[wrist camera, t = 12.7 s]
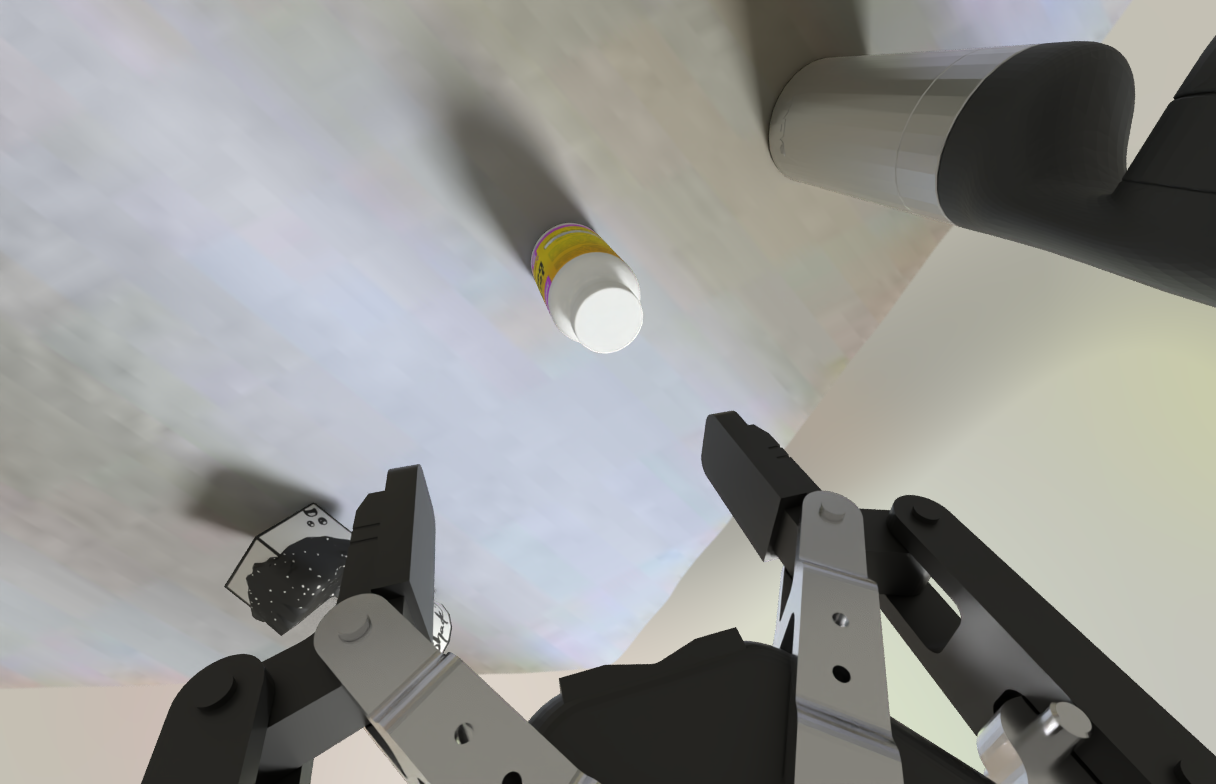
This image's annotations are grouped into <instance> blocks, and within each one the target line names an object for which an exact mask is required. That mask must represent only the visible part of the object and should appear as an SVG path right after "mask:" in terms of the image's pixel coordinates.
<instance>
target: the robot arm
mask: <svg viewBox="0 0 1216 784" xmlns="http://www.w3.org/2000/svg"><path fill="white" fill-rule="evenodd" d="M1173 98H1174V100H1173V101H1172V102H1170V104H1169V105H1168V106H1167V108H1166V110H1165V111H1164V113H1163V114H1162V116H1161V117H1160V119H1159V121H1158V122H1157V124H1156V125H1155V127H1154V129H1153V130H1152V132H1151V133H1150V135H1149V137H1148V138H1147V140H1146V141H1145V143H1144V145H1143V146H1142V148H1141V149H1140V151H1139V152H1138V154H1137V156H1136V157H1135V159H1134V161H1133V162H1132V164H1131V165H1130V167H1129V168H1128V170H1127V168H1126V155H1127V146H1128V140H1129V134H1130V129H1131V123H1132V118H1133V112H1134V104H1135V86H1134V79H1133V74H1132V71H1131V68H1130V66H1129V64H1128V62H1127V60H1126V59H1125V57H1124V56H1123V55H1122V54H1121V53H1120V52H1119V51H1117V50H1116V49H1115V48H1113V47H1111V46H1108V45H1105V44H1102V43H1098V42H1089V41H1072V42H1057V43H1045V44H1030V45H1015V46H999V47H989V48H974V49H958V50H943V51H927V52H912V53H896V54H881V55H861V56H846V57H831V58H824V59H820V60H816V61H814V62H812V63H810V64H808V65H807V66H805V67H804V68H802V69H801V70H800V71H799V72H798V73H796V74H795V75H794V76H793V78H792V79H791V80H790V81H789V82H788V84H787V85H786V86H785V88H784V89H783V91H782V93H781V94H780V96H779V98H778V100H777V103H776V105H775V108H774V110H773V113H772V118H771V122H770V129H769V145H770V152H771V155H772V158H773V161H774V163H775V164H776V166H777V168H778V169H779V170H780V171H781V172H782V173H783V174H784V175H785V176H786V177H788V178H790V179H792V180H794V181H798V182H802V183H805V184H809V185H812V186H816V187H819V188H822V189H826V190H829V191H833V192H836V193H840V194H843V195H847V196H851V197H854V198H858V199H861V200H865V201H868V202H872V203H875V204H879V205H883V206H886V207H890V208H893V209H897V210H900V211H904V212H908V213H911V214H915V215H918V216H922V217H926V218H930V219H933V220H937V221H941V222H944V223H948V224H951V225H955V226H958V227H962V228H966V229H969V230H973V231H977V232H981V233H985V234H989V235H993V236H996V237H1000V238H1004V239H1007V240H1011V241H1015V242H1018V243H1021V244H1025V245H1028V246H1032V247H1035V248H1039V249H1042V250H1046V251H1049V252H1052V253H1055V254H1058V255H1061V256H1064V257H1067V258H1070V259H1073V260H1076V261H1079V262H1082V263H1085V264H1088V265H1091V266H1093V267H1096V268H1099V269H1102V270H1105V271H1108V272H1110V273H1114V274H1116V275H1119V276H1122V277H1125V278H1128V279H1131V280H1133V281H1136V282H1139V283H1142V284H1145V285H1147V286H1150V287H1153V288H1156V289H1159V290H1161V291H1165V292H1168V293H1171V294H1174V295H1177V296H1180V297H1184V298H1187V299H1190V300H1193V301H1196V302H1200V303H1203V304H1206V305H1209V306H1212V307H1216V36H1215V37H1214V38H1213V40H1212V41H1211V42H1210V44H1209V45H1208V46H1207V48H1206V49H1205V50H1204V52H1203V53H1202V54H1201V56H1200V58H1199V59H1198V61H1197V62H1196V64H1195V65H1194V67H1193V68H1192V70H1191V71H1190V73H1189V75H1188V76H1187V77H1186V79H1185V80H1184V82H1183V84H1182V85H1181V87H1180V88H1179V90H1178V91H1177V93H1176V94H1175V96H1174V97H1173ZM701 460H702V466H703V469H704V472H705V474H706V476H707V478H708V479H709V481H710V482H711V484H712V485H713V487H714V488H715V490H716V491H717V493H718V494H719V496H720V497H721V499H722V500H723V502H724V503H725V505H726V506H727V508H728V509H729V511H730V512H731V514H732V515H733V517H734V518H735V520H736V521H737V523H738V524H739V526H740V527H741V529H742V530H743V532H744V533H745V535H746V536H747V538H748V539H749V541H750V542H751V544H752V545H753V547H754V548H755V550H756V552H757V553H758V555H759V556H760V558H761V559H762V561H763V562H767V561H771V560H775V559H780V560H781V562H782V563H783V568H782V572H781V581H780V592H779V601H778V611H777V620H776V630H775V636H774V642H773V646H771V645H767V644H763V643H759V642H752V641H743V640H742V638H741V636H740V634H739V632H738V630H737V629H736V627H735V628H731V629H728V630H725V631H721V632H718V633H714V634H711V635H707V636H704V637H700V638H697V639H694V640H693V641H691V642H690V643H688V644H687V645H685V646H683V647H682V648H680V649H679V650H677V651H676V652H674V653H673V654H671V655H669V656H668V657H666V658H665V659H663V660H662V661H660V662H658V663H655V664H636V665H635V664H633V665H603V666H600V667H596V668H593V669H590V670H586V671H583V672H579V673H576V674H572V675H569V676H565V677H562V678H559V684H560V694H559V695H557V696H556V697H554V698H552V699H551V700H550V701H548V702H547V703H546V704H545V705H543V706H542V707H541V708H540V709H539V710H538V711H537V712H536V713H535V714H534V715H533V716H532V717H531V719H530V720H529V721H528V722H527V721H526V720H525V719H524V718H523V717H522V716H521V715H520V714H519V713H518V712H517V711H516V710H515V709H514V708H512V707H511V706H510V705H509V704H508V703H507V702H506V701H505V700H504V699H503V698H502V697H501V696H500V695H499V694H498V693H496V692H495V691H494V690H493V689H492V688H491V687H490V686H489V685H488V684H487V683H486V682H485V681H484V680H483V679H482V678H481V677H479V676H478V675H477V674H476V673H475V672H474V671H473V670H472V669H471V668H470V667H469V666H468V665H467V664H466V663H465V662H463V661H462V660H461V659H460V658H459V657H458V656H456V655H455V654H453V653H451V652H448V653H447V654H446V655H445V654H443V653H442V652H440V651H439V650H438V649H437V648H436V647H435V646H434V645H433V614H434V570H435V518H434V511H433V506H432V503H431V499H430V495H429V492H428V488H427V485H426V481H425V477H424V474H423V470H422V467H421V465H420V464H417V465H411V466H406V467H400V468H394V469H389V470H388V474H387V480H386V487H385V491H381V492H375V493H370V494H368V495H367V497H366V498H365V499H364V501H363V502H362V503H361V505H360V506H359V508H358V509H357V510H356V515H355V519H354V524H353V531H352V534H351V539H350V546H349V548H348V553H347V558H346V563H345V567H344V572H343V577H342V582H341V586H340V591H339V596H338V600H337V604H336V606H334V607H333V608H332V609H331V610H330V611H329V612H328V613H327V614H326V615H325V616H324V617H323V619H322V620H321V621H320V623H319V625H318V627H317V629H316V631H315V633H313V634H312V635H311V636H309V637H308V638H306V639H305V640H303V641H302V642H300V643H298V644H296V645H294V646H292V647H290V648H288V649H286V650H284V651H283V652H281V653H279V654H277V655H275V656H273V657H271V658H269V659H267V660H265V661H263V662H261V661H260V660H259V659H258V658H256V657H255V656H252V655H248V654H237V655H232V656H228V657H225V658H223V659H220V660H218V661H216V662H214V663H212V664H210V665H209V666H207V667H205V668H204V669H203V670H201V671H200V672H198V673H197V674H196V675H195V676H194V677H193V678H191V679H190V680H189V681H188V682H187V683H186V684H185V685H184V686H183V688H182V689H181V690H180V692H179V693H178V694H177V696H176V697H175V699H174V700H173V702H172V705H171V707H170V709H169V711H168V714H167V717H166V719H165V722H164V725H163V727H162V730H161V733H160V735H159V738H158V740H157V743H156V746H155V748H154V751H153V754H152V757H151V759H150V762H149V764H148V767H147V769H146V772H145V775H144V778H143V780H142V783H141V784H310V782H311V773H312V767H313V760H314V758H315V757H317V756H318V755H320V754H321V753H323V752H325V751H326V750H328V749H329V748H331V747H332V746H334V745H335V744H337V743H339V742H341V741H342V740H344V739H345V738H347V737H348V736H350V735H352V734H354V733H355V732H356V731H358V730H360V729H361V728H364V730H365V731H366V732H367V733H368V735H369V736H370V737H371V738H372V739H373V741H374V742H375V743H376V745H377V746H378V747H379V748H380V750H381V751H382V752H383V753H384V755H385V756H386V757H387V758H388V759H389V761H390V762H391V763H392V764H393V766H394V767H395V768H396V770H397V771H398V772H399V773H400V775H401V776H402V777H403V778H404V780H405V781H406V782H407V783H408V784H1216V756H1215V755H1214V754H1213V753H1212V752H1211V751H1209V750H1208V749H1207V748H1206V747H1205V746H1204V745H1203V744H1202V743H1201V742H1200V741H1199V740H1197V739H1196V738H1195V737H1194V736H1193V735H1192V734H1191V733H1190V732H1189V731H1188V730H1187V729H1185V728H1184V727H1183V726H1182V725H1181V724H1180V723H1179V722H1178V721H1177V720H1176V719H1175V718H1173V717H1172V716H1171V715H1170V714H1169V713H1168V712H1167V711H1166V710H1165V709H1164V708H1163V707H1162V706H1160V705H1159V704H1158V703H1157V702H1156V701H1155V700H1154V699H1153V698H1152V697H1151V696H1150V695H1148V694H1147V693H1146V692H1145V691H1144V690H1143V689H1142V688H1141V687H1140V686H1139V685H1138V684H1137V683H1135V682H1134V681H1133V680H1132V679H1131V678H1130V677H1129V676H1128V675H1127V674H1126V673H1124V672H1123V671H1122V670H1121V669H1120V668H1119V667H1118V666H1117V665H1116V664H1115V663H1114V662H1113V661H1111V660H1110V659H1109V658H1108V657H1107V656H1106V655H1105V654H1104V653H1102V651H1101V650H1100V649H1098V648H1097V647H1096V646H1095V645H1094V644H1093V643H1092V642H1091V641H1090V640H1089V639H1088V638H1086V637H1085V636H1084V635H1083V634H1082V633H1081V632H1080V631H1079V630H1078V629H1077V628H1076V627H1075V626H1073V625H1072V624H1071V623H1070V622H1069V621H1068V620H1067V619H1066V618H1065V617H1064V616H1063V615H1061V614H1060V613H1059V612H1058V611H1057V610H1056V609H1055V608H1054V607H1053V606H1052V605H1051V604H1049V603H1048V602H1047V601H1046V600H1045V599H1044V598H1043V597H1042V596H1041V595H1040V594H1039V593H1038V592H1036V591H1035V590H1034V589H1033V588H1032V587H1031V586H1030V585H1029V584H1028V583H1027V582H1025V581H1024V580H1023V579H1022V578H1021V577H1020V576H1019V575H1018V574H1017V573H1016V572H1015V571H1014V570H1012V569H1011V568H1010V567H1009V566H1008V565H1007V564H1006V563H1005V562H1004V561H1003V560H1002V559H1000V558H999V557H998V556H997V555H996V554H995V553H994V552H993V551H992V550H991V549H990V548H989V547H987V546H986V545H985V544H984V543H983V542H982V541H981V540H980V539H978V537H977V536H975V535H974V534H973V533H972V532H971V531H970V530H969V529H968V528H967V527H966V526H965V525H963V524H962V523H961V522H960V521H959V520H958V519H957V518H956V517H955V516H954V515H953V514H952V513H950V512H949V511H948V510H947V509H946V508H945V507H943V506H941V505H940V504H938V503H936V502H934V501H932V500H930V499H927V498H924V497H920V496H915V495H905V496H901V497H899V498H897V499H896V500H895V501H894V503H893V505H892V508H891V510H875V509H859V508H858V507H857V506H856V505H855V504H854V503H853V502H852V501H851V500H849V499H847V498H846V497H844V496H842V495H840V494H837V493H834V492H830V491H822V490H821V489H820V488H819V487H818V486H817V485H816V484H815V483H814V482H813V481H812V480H811V479H810V477H809V476H808V475H807V474H806V473H805V472H804V471H803V470H802V469H801V468H800V467H799V465H798V464H797V463H796V462H795V461H794V460H793V459H792V458H791V457H789V456H788V454H787V452H786V451H785V450H784V449H783V448H780V445H779V444H778V443H777V442H776V441H775V439H774V438H773V437H772V436H771V435H770V434H769V433H767V432H766V431H764V430H762V429H760V428H759V427H757V426H755V425H754V424H752V425H747V423H746V422H745V421H744V420H743V419H742V418H741V417H740V416H739V414H738V413H737V412H735V411H728V412H722V413H716V414H710V415H709V416H708V417H707V419H706V425H705V432H704V439H703V447H702V454H701ZM930 577H932V578H933V579H934V580H935V581H936V582H937V584H938V585H939V586H940V587H941V588H942V589H943V590H944V591H945V592H946V593H947V595H948V596H949V597H950V598H951V599H952V600H953V601H954V602H955V604H956V605H957V607H958V609H959V611H960V615H961V618H960V617H959V616H958V615H957V614H956V613H955V611H954V610H953V609H952V608H951V607H950V606H949V605H948V604H947V603H946V601H945V600H944V599H943V598H942V597H941V596H940V595H939V593H938V592H937V591H936V590H935V589H934V588H933V587H932V586H931V585H930V583H929V582H928V581H929V579H930ZM880 609H881V610H882V612H883V613H884V614H885V616H886V617H887V618H888V620H889V621H890V622H891V624H892V625H893V626H894V628H895V629H896V630H897V632H898V633H899V634H900V636H901V637H902V638H903V640H904V641H905V642H906V644H907V645H908V646H909V647H910V649H911V650H912V651H913V653H914V654H915V655H916V656H917V658H918V659H919V661H920V662H921V663H922V665H923V666H924V667H925V669H926V670H927V671H928V673H929V674H930V675H931V677H932V678H933V679H934V680H935V682H936V683H937V685H938V686H939V687H940V688H941V690H942V691H943V692H944V694H945V695H946V696H947V698H948V699H949V700H950V702H951V703H952V704H953V706H954V707H955V708H956V710H957V711H958V712H959V714H960V715H961V716H962V718H963V719H964V720H965V722H966V723H967V724H968V726H969V727H970V728H971V730H972V731H973V732H974V734H975V735H976V736H977V749H978V753H979V756H980V758H981V760H982V762H983V764H984V766H985V769H984V775H983V774H981V773H979V772H978V771H976V770H975V769H973V768H972V767H970V766H968V765H967V764H965V763H964V762H962V761H961V760H959V759H957V758H956V757H954V756H953V755H951V754H949V753H948V752H946V751H945V750H943V749H941V748H940V747H938V746H937V745H935V744H934V743H932V742H930V741H929V740H927V739H926V738H924V737H922V736H920V735H919V734H918V733H916V732H914V731H913V730H911V729H910V728H908V727H906V726H905V725H903V724H902V723H900V722H898V721H897V720H895V719H894V718H892V717H891V716H890V714H889V713H890V712H889V702H888V691H887V680H886V669H885V658H884V647H883V636H882V626H881V614H880Z"/></svg>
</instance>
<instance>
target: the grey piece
mask: <svg viewBox="0 0 1216 784" xmlns="http://www.w3.org/2000/svg"><path fill="white" fill-rule="evenodd" d="M351 534H352V532H351V531H349V530H348V529H347V528H346V527H344V526H343V525H342V524H341V523H339V522H338V521H337V520H336V519H334V518H333V517H332V516H331V515H329V514H328V513H327V512H326V511H324V510H323V509H322V508H321V507H319V506H318V505H317V504H316V503H312V504H310V505H308V506H307V507H305V508H303V509H302V510H300V511H298V512H296V513H295V514H293V515H291V516H290V517H288V518H286V519H285V520H283V521H281V522H280V523H278V524H276V525H274V526H273V527H271V528H269V529H268V530H266V531H264V532H263V533H261V534H259V535H258V536H256V537H255V538H254V540H253V541H252V543H251V544H250V546H249V548H248V549H247V551H246V552H245V554H244V556H243V557H242V559H241V560H240V562H239V564H238V565H237V567H236V568H235V570H234V572H233V573H232V575H231V576H230V578H229V580H228V581H227V583H226V584H225V586H224V587H225V588H227V589H228V590H229V591H230V592H232V593H233V594H234V595H235V596H237V597H238V598H239V599H240V600H242V601H243V602H244V603H246V604H247V605H248V606H249V607H251V611H252V616H253V617H254V618H255V619H257V620H259V621H262V622H266V623H267V624H268V625H269V626H270V627H271V628H273V629H274V630H275V631H276V632H277V633H278V634H280V635H281V636H282V635H283V634H285V633H286V632H287V631H289V630H290V629H292V628H293V627H294V626H296V625H297V624H299V623H300V622H301V621H302V620H304V619H305V618H306V617H307V616H308V615H310V614H311V613H312V612H313V611H314V610H315V609H317V608H318V607H319V606H320V605H322V604H323V603H324V602H326V601H327V600H328V599H329V598H331V597H334V596H335V597H337V598H338V596H339V591H340V586H341V582H342V577H343V572H344V567H345V563H346V558H347V553H348V548H349V546H350V539H351ZM451 630H452V625H451V619H450V614H449V613H448V612H447V610H446V609H445V607H444V606H443V605H442V604H440V603H438V602H437V601H435V600H434V614H433V645H434V646H435V647H436V648H437V649H438V650H439V651H440V652H442V653H444V651H445V649H446V647H447V645H448V644H449V642H450V636H451Z"/></svg>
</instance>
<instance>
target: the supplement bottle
mask: <svg viewBox="0 0 1216 784" xmlns="http://www.w3.org/2000/svg"><path fill="white" fill-rule="evenodd" d="M531 269H532V273H533V277H534V279H535V282H536V284H537V286H538V288H539V291H540V293H541V295H542V297H543V300H544V302H545V304H546V306H547V308H548V310H549V313H550V315H551V317H552V319H553V321H554V323H555V325H556V326H557V328H558V329H559V330H560V331H561V332H562V333H563V334H564V335H565V336H567V337H568V338H570V339H572V340H574V341H577V342H580V343H581V344H582V345H583V346H585V347H586V348H587V349H589V350H591V351H594V352H597V353H611V352H615V351H618V350H621V349H622V348H624V347H626V346H627V345H629V344H630V343H631V342H632V341H633V340H634V339H635V337H636V336H637V334H638V333H639V331H640V328H641V326H642V321H643V311H642V307H641V304H640V288H639V284H638V281H637V278H636V276H635V274H634V273H633V271H632V270H631V268H630V267H629V266H628V265H627V264H626V263H625V262H624V261H623V260H622V259H621V258H620V257H619V256H618V255H617V254H616V253H615V252H614V251H613V250H612V249H611V248H610V247H609V246H608V245H607V243H606V242H605V241H604V240H603V239H602V238H601V237H600V236H599V235H598V234H597V233H595V232H594V231H593V230H592V229H590V228H588V227H586V226H584V225H581V224H577V223H564V224H560V225H557V226H554V227H553V228H551V229H549V230H548V231H546V232H545V233H544V234H543V235H542V236H541V237H540V238H539V240H538V241H537V243H536V245H535V247H534V249H533V252H532V256H531Z"/></svg>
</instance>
